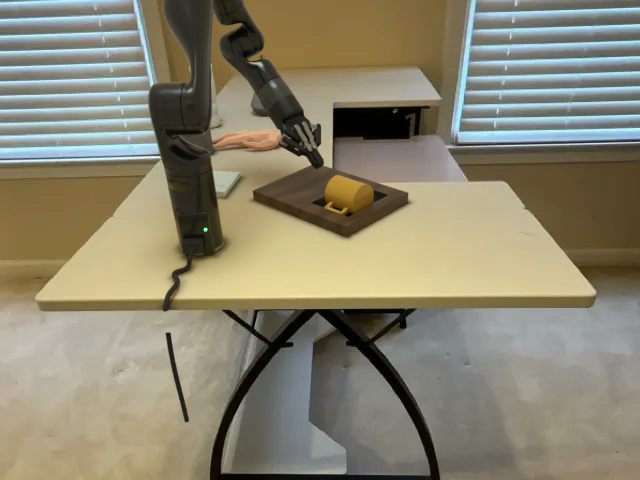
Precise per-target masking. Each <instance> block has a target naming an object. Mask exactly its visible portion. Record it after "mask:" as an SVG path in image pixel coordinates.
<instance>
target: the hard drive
mask: <svg viewBox="0 0 640 480" xmlns="http://www.w3.org/2000/svg"><path fill="white" fill-rule="evenodd" d="M213 174H214V181H215V188H216V194H217V198H225V197H226V196H227V195H228V194H229V193H230V191H231V190H232V189H233V188H234V186H235V185H236V183H237V182H238V181H239V179H240V178H241V172H240V171H224V170H213Z"/></svg>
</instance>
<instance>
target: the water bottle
mask: <svg viewBox="0 0 640 480" xmlns="http://www.w3.org/2000/svg"><path fill="white" fill-rule="evenodd" d="M213 70H214V69H213V64H212V63H211V88H212V119H211V125H210V130H212V129H216V128H218V127H219V126H220V125H221V119H220V118H221V117H220V114H219V106H218V105H219V104H218V102H217V89H216V82H215V77H214V72H213ZM188 71H189V72H190V65H189V64H188Z"/></svg>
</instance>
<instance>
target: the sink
mask: <svg viewBox="0 0 640 480" xmlns="http://www.w3.org/2000/svg"><path fill="white" fill-rule="evenodd" d="M373 192H374V198H373V203H372V204H371V205H373V204H375V203H377V202H378V201H380V200H382V199H384V198H386V197H388V196H390V194H387V193H384V192H380V191H377V190H374V189H373ZM310 204H313V205H316V206H318V207H321V208H324V207H325V206H326V205H327V203H326V201H325V195H324V196H322V197H320V198H318V199H316V200H314V201H312V202H310ZM371 205H369V206H371ZM369 206H367V207H369ZM367 207H365V208H367ZM332 208H333V207H332ZM365 208H364V209H365ZM324 209H326V208H324ZM333 209H336V208H333ZM364 209H362V210H364ZM326 210H329V209H326ZM336 210H338V209H336ZM362 210H360V211H362ZM329 211H331V210H329ZM338 211H341V210H338ZM360 211H358V212H360ZM332 212H334V211H332ZM358 212H356V213H358ZM334 213H337V212H334ZM356 213H354V214H356ZM337 214H339V213H337ZM354 214H349V213H347V214H346V215H342V214H340V215H342V216H345V217H348V218H349V217H350V216H352V215H354Z"/></svg>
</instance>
